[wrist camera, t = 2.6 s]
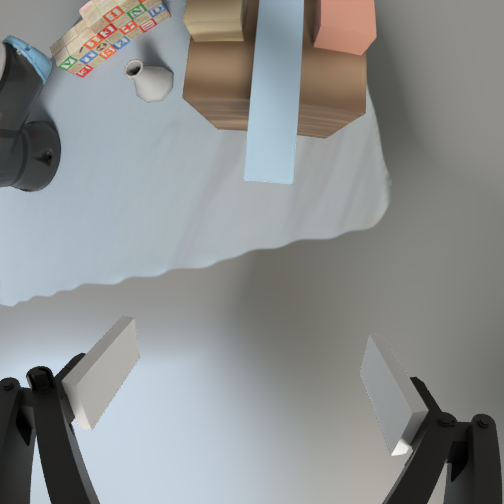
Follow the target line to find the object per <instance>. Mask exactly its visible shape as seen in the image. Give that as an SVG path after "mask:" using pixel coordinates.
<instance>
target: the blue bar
mask: <svg viewBox="0 0 504 504" xmlns="http://www.w3.org/2000/svg"><path fill="white" fill-rule="evenodd" d="M303 12H304V0H260V1H259V11H258V21H257V31H256V42H255V53H254V64H253V75H252V86H251V97H250V109H249V121H248V133H247V145H246V157H245V170H244V180H248V181H261V182H272V183H283V184H293V175H294V163H295V151H296V138H297V124H298V110H299V95H300V78H301V59H302V38H303Z"/></svg>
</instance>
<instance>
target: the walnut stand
mask: <svg viewBox="0 0 504 504" xmlns="http://www.w3.org/2000/svg"><path fill="white" fill-rule="evenodd" d="M247 1H248V9H247V17H246V26H245V35H244V41H203V42H195V41H194V39H193V38H192V36H191V38H190V45H189V51H188V58H187V65H186V73H185V80H184V88H183V97H182V98H183V99H184V100H186V101H187V102H188V103H189V104H190V105H191V106H192V107H194V108H195V109H196V110H197V111H198V112H199V113H200V114H201V115H203V116H204V117H205V118H206V119H207V120H208V121H209V122H210V123H211V124H212V125H214V126H215V127H216V128H217V129H224V130H244V131H248V121H249V109H250V97H251V86H252V75H253V64H254V53H255V42H256V31H257V21H258V11H259V1H260V0H247ZM316 2H317V0H304V12H303V38H302V59H301V78H300V95H299V110H298V124H297V135H302V136H310V137H318V138H327V137H328V136H330V135H332V134H333V133H335V132H336V131H338V130H339V129H341V128H343V127H344V126H346V125H347V124H349V123H351V122H352V121H354V120H355V119H357V118H359V117H360V116H362V115H364V114H365V112H366V50H365V52H364V53H363V54H362V55H356V54H351V53H346V52H341V51H335V50H329V49H323V48H316V47H313V40H314V9H315V5H316Z"/></svg>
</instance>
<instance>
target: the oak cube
mask: <svg viewBox="0 0 504 504" xmlns="http://www.w3.org/2000/svg"><path fill="white" fill-rule="evenodd" d="M247 9H248V1H247V0H187V2H186V7H185V12H184V17H183V22H184V24H185V26H186V27H187V29H188V31H189V32H190V34H191V36H192V38H193V39H194V41H195V42H203V41H244V35H245V26H246V17H247Z"/></svg>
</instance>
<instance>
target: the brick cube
mask: <svg viewBox="0 0 504 504" xmlns="http://www.w3.org/2000/svg"><path fill="white" fill-rule="evenodd" d="M375 38H376V22H375V9H374V0H317V2H316V5H315V9H314V40H313V47H316V48H323V49H329V50H335V51H341V52H346V53H351V54H356V55H362V54H363V53H364V52H365V50H366V49H367V48H368V47H369V45H370V44H371V43H372V42H373V41H374V39H375Z"/></svg>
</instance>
